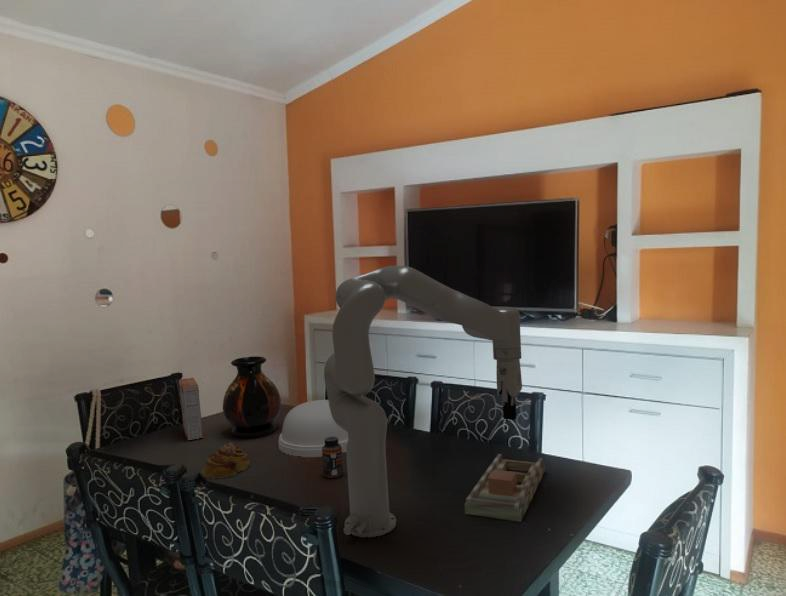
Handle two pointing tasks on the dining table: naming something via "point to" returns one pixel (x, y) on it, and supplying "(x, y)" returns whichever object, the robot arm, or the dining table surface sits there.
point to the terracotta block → (502, 482)
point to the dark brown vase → (251, 400)
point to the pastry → (226, 462)
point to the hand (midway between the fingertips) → (510, 418)
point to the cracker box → (191, 408)
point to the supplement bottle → (332, 458)
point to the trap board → (505, 505)
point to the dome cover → (310, 430)
